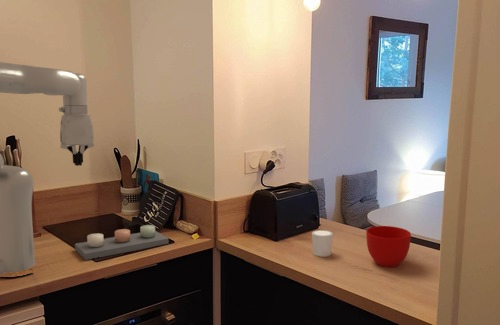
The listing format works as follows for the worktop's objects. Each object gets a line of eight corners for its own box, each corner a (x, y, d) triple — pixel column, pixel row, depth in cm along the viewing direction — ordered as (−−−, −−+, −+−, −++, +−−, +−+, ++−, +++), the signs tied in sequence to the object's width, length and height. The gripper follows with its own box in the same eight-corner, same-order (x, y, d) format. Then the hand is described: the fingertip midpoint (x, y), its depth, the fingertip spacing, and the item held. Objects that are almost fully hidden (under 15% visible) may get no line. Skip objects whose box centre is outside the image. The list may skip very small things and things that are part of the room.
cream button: (90, 248, 145) (89, 238, 145) (85, 243, 149) (85, 235, 149) (105, 245, 148) (105, 236, 148) (101, 241, 152) (100, 232, 152)
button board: (85, 260, 142) (85, 253, 141) (75, 249, 151) (74, 243, 151) (168, 244, 158) (168, 238, 157) (154, 235, 167) (154, 230, 167)
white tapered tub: (332, 257, 145) (333, 236, 144) (310, 256, 146) (311, 235, 145) (333, 250, 151) (333, 230, 150) (312, 249, 153) (312, 229, 152)
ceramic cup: (416, 256, 146) (417, 226, 144) (404, 274, 131) (405, 241, 130) (375, 249, 152) (376, 220, 151) (360, 266, 138) (360, 234, 136)
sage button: (143, 238, 156) (143, 229, 155) (138, 234, 160) (138, 226, 159) (157, 235, 159) (157, 227, 158) (151, 232, 163) (151, 224, 162)
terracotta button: (117, 243, 151) (117, 234, 150) (112, 239, 155) (112, 230, 154) (132, 240, 153) (132, 231, 153) (127, 236, 157) (126, 228, 157)
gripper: (54, 111, 146) (57, 168, 148) (101, 110, 154) (103, 164, 157) (49, 110, 152) (52, 165, 154) (94, 110, 160) (96, 162, 163)
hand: (78, 165), depth 155 cm, fingers closed
